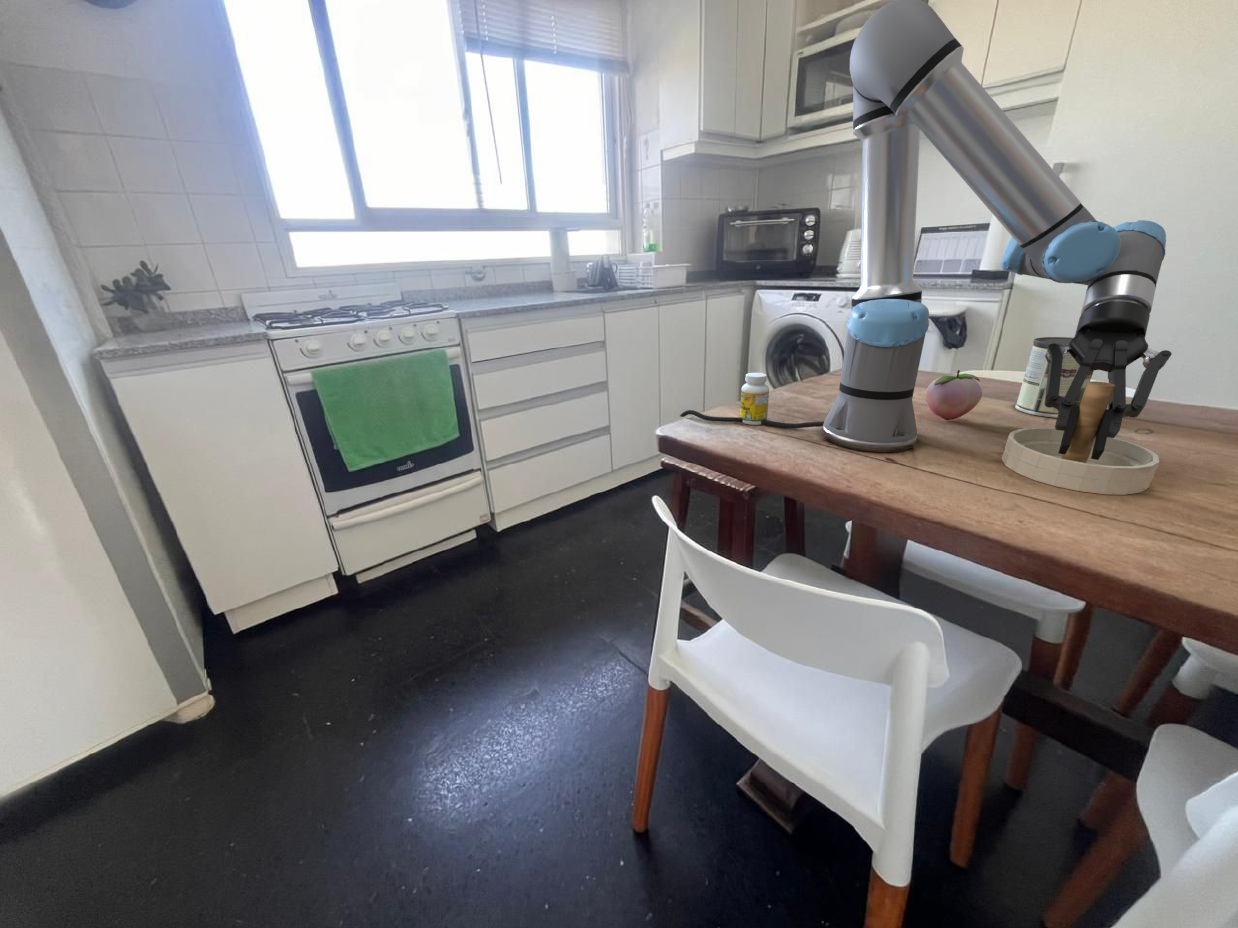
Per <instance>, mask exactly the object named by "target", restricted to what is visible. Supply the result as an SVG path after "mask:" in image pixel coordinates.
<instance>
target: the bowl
mask: <svg viewBox="0 0 1238 928" xmlns="http://www.w3.org/2000/svg"><path fill="white" fill-rule="evenodd" d="M1063 433H1064V431H1061V430H1056V428H1055V427H1027V428H1026V427H1025V428H1018V429H1016V430H1013V431H1010V433H1009V434H1008V437H1007V440H1006V444H1005V447H1004V450H1003V454H1002V457H1001V461H1002V463H1003V464H1004V466H1005V467H1006V468H1008V469H1010V470H1011V471H1013V472H1015V473H1016V474H1018V475H1021V476H1023V477H1025V478H1027V479H1030V480H1032V481H1036V482H1039V483H1042V484H1046V485H1049V486H1051V487H1052V486H1053V487H1057V488H1061V489H1067V490H1071V491H1076V492H1082V493H1089V494H1090V493H1091V494H1097V495H1098V494H1099V495H1111V496H1112V495H1117V496H1126V495H1134V494H1139V493H1143V492H1144V491H1146V490H1148V489H1149V488H1150V486H1151V484H1152V481H1153V478H1154V476H1155V474H1156V471H1157V470H1158V467H1159V464H1160V457H1159V455H1158V454H1156V453H1155V452H1154V451H1152V450H1151V449H1149V448H1146V447H1144V446H1142V445H1139V444H1137V443H1135V442H1132V441H1128V440H1124V439H1121V438H1118V437H1114V438H1110V437H1107V440H1106V444H1105V449H1104V452H1103V453H1102V455H1101V456H1100V458H1099V459H1098V460H1095V459H1091V456H1092V452H1093V448H1094V444H1093V447H1092V449H1091V452H1090V455H1089V458H1088V460H1087V463H1082V462H1077V461H1071V460H1066V459H1061V458H1062V455H1063V454H1058V453H1059V449H1060V445H1061V441H1062V437H1063ZM1095 439H1096V438H1095ZM1094 443H1095V441H1094ZM1088 463H1089V464H1088Z"/></svg>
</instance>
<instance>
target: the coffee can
mask: <svg viewBox="0 0 1238 928" xmlns="http://www.w3.org/2000/svg"><path fill="white" fill-rule="evenodd" d="M1073 338H1074V337H1067V336H1045V337H1036V338H1034V339H1033V341H1032V343H1033V344H1032V348H1031V351H1030V355H1029V358H1028V361H1027V366H1026V369H1025V373H1024V377H1023V380H1022V383H1021V387H1020V390H1019V394H1018V397H1017V401H1016V404H1015V406H1014V408H1015V409H1016V410H1017V411H1020V412H1022V413H1024V414H1029V415H1033V416H1038V417H1044V418H1053V419H1054V418H1055V419H1057V417H1058V410H1057V409H1056V408H1053V407H1050V408H1049V407H1046V406H1045V396H1046V388H1047V379H1048V371H1049V364H1048V362H1047V360H1046V358H1045V355H1046V352H1047V349H1048V346H1049V345H1050V344H1053V343H1055V344H1058V346H1060V345H1064V344H1069V342H1070V340H1071V339H1073ZM1079 367H1080V365H1079V364H1078V363H1077V362H1076V360H1075V359H1074V358H1073V357H1072V356H1071V354H1070V353H1069V352H1068V353H1067V354H1066V357H1065V359H1063V361H1062V370H1061V379H1060V389H1059V396H1061V397H1065V395H1066V393H1067V391H1068V389H1069V387H1070V385H1071V383H1072V381H1073V379H1074V377H1075V375H1076V373H1077V371H1078V369H1079ZM1094 372H1095V370H1089V372H1088V375H1087V377H1086V379H1085V381H1084V383H1083V385H1082V387H1081V389H1080V391H1079V393H1078V395H1077V397H1076V399H1075V401H1074V403H1073V405H1075V406H1079V405H1080V402H1081V400H1082V397H1083V394H1084V391H1085V388H1086V385H1087V382H1091V380H1092V377H1093V374H1094Z"/></svg>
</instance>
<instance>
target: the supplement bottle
mask: <svg viewBox="0 0 1238 928" xmlns="http://www.w3.org/2000/svg"><path fill="white" fill-rule="evenodd" d="M767 377H768V375H767V374H766V373H764V372H749V373H746V374H745V377H744V378H745V382H746V383H744V384H743V385H742V386H741V388H740V389H741V390H740V406H739V407H740V408H739V417H741V418H742V419H743V422H741V423H742V424H746V425H749V426H750V425H751V426H759V425H762V424H761V421H762V420H768V410H769V401H770V400H769V399H770V387H769V385H768V384H766V383H767V381H768V379H767Z"/></svg>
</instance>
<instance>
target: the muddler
mask: <svg viewBox="0 0 1238 928" xmlns="http://www.w3.org/2000/svg"><path fill="white" fill-rule="evenodd" d="M1114 387H1115V385H1114V384H1111V383H1109V382H1106V381H1094V380H1092V381H1091V380H1090V382H1087V385H1086V388H1085V391H1084V394H1083V397H1082V400H1081V402H1080V405H1079V406H1080V407H1079V411H1078V415H1077V419H1076V423H1075V427H1074V431H1073V435H1072V439H1071V443H1070V446H1069V448H1068V450H1067V452H1066V454H1065V455H1064V454H1063V455H1062V458H1061V459H1066V460H1071V461H1077V462H1082V463H1087V460H1088V458H1089V455H1090V452H1091V449H1092V447H1093V444H1094V441H1095V438H1096V435H1097V433H1098V430H1099V427H1100V424H1101V422H1102V419H1103V416H1104V414H1105V411H1106V409H1108V403H1109V400H1110V398H1111V395H1112V392H1113V389H1114ZM1088 464H1089V463H1088Z"/></svg>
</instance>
